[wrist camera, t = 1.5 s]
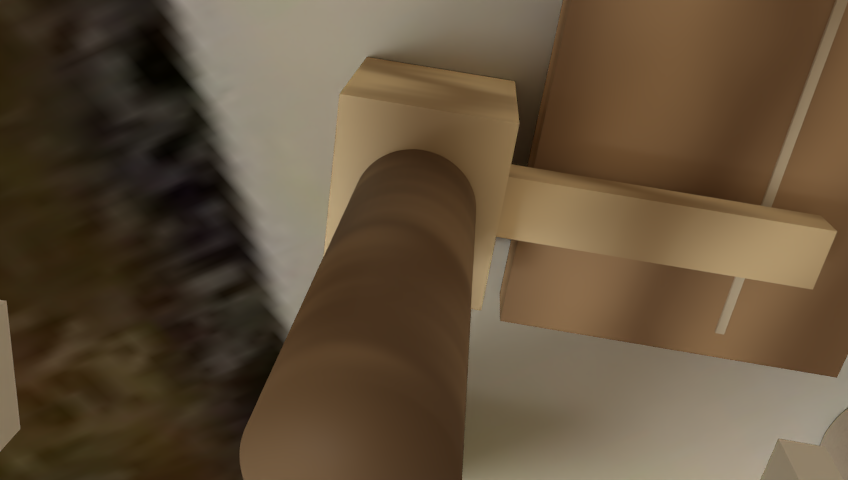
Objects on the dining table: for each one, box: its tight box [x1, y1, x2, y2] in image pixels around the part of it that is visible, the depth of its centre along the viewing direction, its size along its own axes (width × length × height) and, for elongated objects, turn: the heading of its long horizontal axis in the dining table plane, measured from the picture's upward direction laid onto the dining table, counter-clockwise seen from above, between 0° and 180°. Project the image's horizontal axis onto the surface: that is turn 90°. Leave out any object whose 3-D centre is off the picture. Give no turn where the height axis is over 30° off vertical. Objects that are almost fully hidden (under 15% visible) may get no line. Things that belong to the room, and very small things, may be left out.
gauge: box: [240, 57, 837, 480], centre depth 19 cm, size 15×6×16 cm, turn 82°
